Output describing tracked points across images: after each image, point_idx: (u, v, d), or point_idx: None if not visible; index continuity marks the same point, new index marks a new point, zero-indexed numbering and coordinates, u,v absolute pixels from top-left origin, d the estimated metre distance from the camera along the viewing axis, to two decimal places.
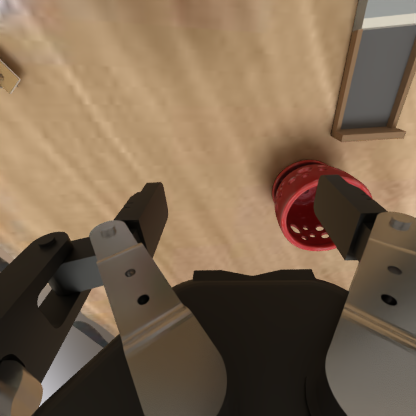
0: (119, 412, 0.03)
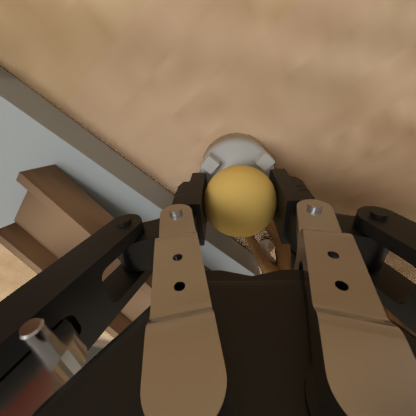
0: (119, 411, 0.04)
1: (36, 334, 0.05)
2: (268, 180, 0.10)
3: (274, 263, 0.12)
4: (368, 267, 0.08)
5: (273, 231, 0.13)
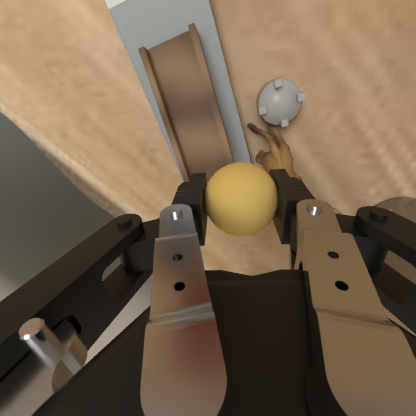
0: (119, 412, 0.03)
1: (36, 334, 0.05)
2: (269, 177, 0.10)
3: None
4: (368, 267, 0.08)
5: (280, 137, 0.25)
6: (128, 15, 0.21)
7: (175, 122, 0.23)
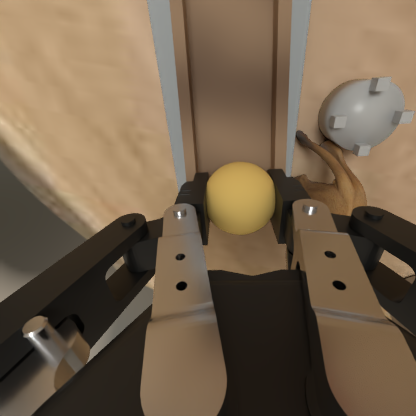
0: (119, 412, 0.03)
1: (39, 332, 0.05)
2: (268, 177, 0.10)
3: None
4: (364, 267, 0.08)
5: (346, 164, 0.16)
6: None
7: (198, 101, 0.13)
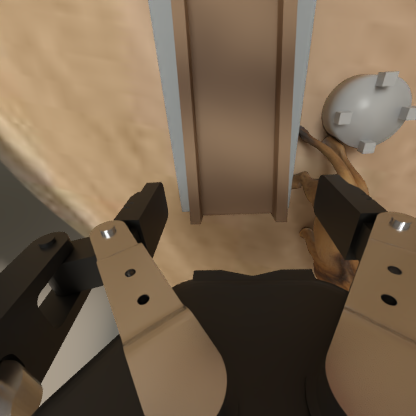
0: (119, 412, 0.03)
1: None
2: None
3: None
4: None
5: None
6: None
7: (199, 95, 0.12)
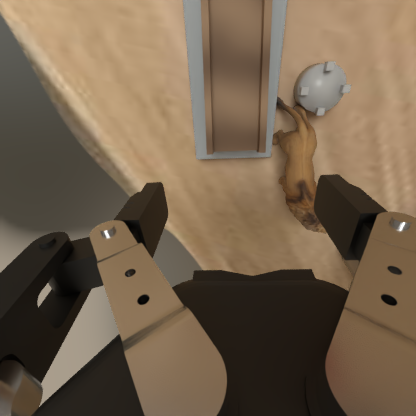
0: (119, 412, 0.03)
1: None
2: None
3: None
4: None
5: None
6: None
7: (214, 73, 0.20)
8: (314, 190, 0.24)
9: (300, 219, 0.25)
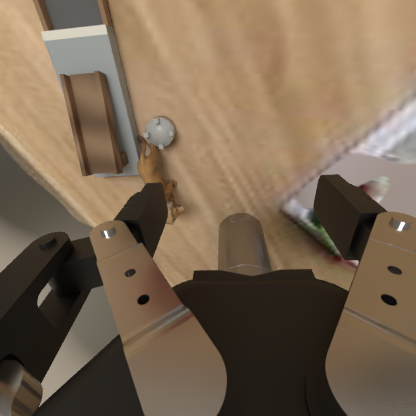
0: (119, 412, 0.04)
1: None
2: None
3: (145, 157, 0.35)
4: None
5: (153, 150, 0.36)
6: (58, 48, 0.30)
7: (82, 127, 0.33)
8: None
9: None
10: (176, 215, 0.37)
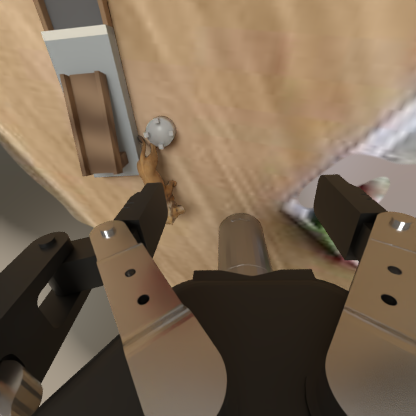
0: (119, 412, 0.04)
1: None
2: None
3: (145, 157, 0.35)
4: None
5: (152, 150, 0.36)
6: (58, 48, 0.30)
7: (82, 127, 0.33)
8: None
9: None
10: (176, 215, 0.37)
